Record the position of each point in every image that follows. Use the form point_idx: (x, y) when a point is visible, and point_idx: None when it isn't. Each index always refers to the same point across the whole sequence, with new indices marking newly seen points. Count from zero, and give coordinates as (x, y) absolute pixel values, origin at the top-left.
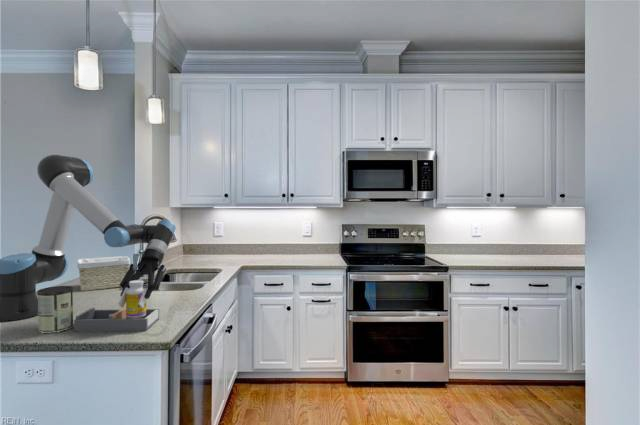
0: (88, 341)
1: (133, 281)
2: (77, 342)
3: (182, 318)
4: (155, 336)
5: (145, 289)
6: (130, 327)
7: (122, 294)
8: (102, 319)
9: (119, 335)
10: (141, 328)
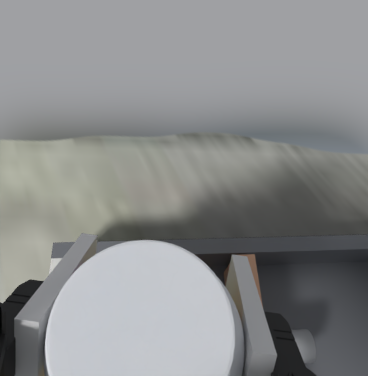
0: (247, 151)
1: (181, 322)
2: (278, 144)
3: None
4: (10, 190)
5: (31, 307)
6: None
7: (258, 299)
8: (287, 242)
9: (166, 205)
10: None
